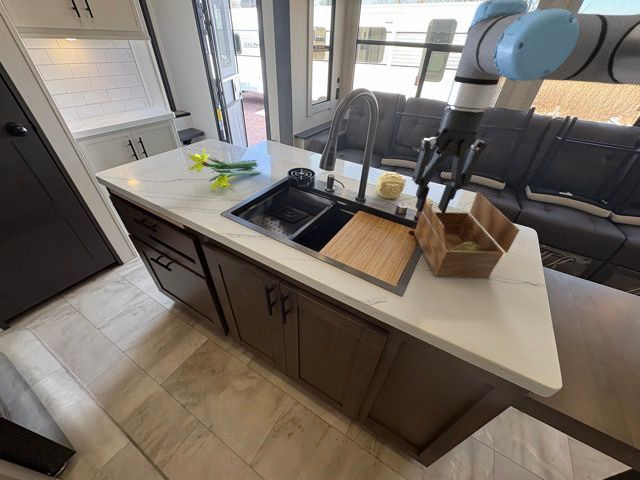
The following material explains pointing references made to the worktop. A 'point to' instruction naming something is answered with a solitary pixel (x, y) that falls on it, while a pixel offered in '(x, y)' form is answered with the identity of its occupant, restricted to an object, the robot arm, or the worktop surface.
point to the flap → (435, 223)
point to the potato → (467, 247)
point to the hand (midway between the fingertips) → (430, 209)
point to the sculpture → (390, 185)
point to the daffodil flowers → (222, 165)
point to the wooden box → (467, 240)
